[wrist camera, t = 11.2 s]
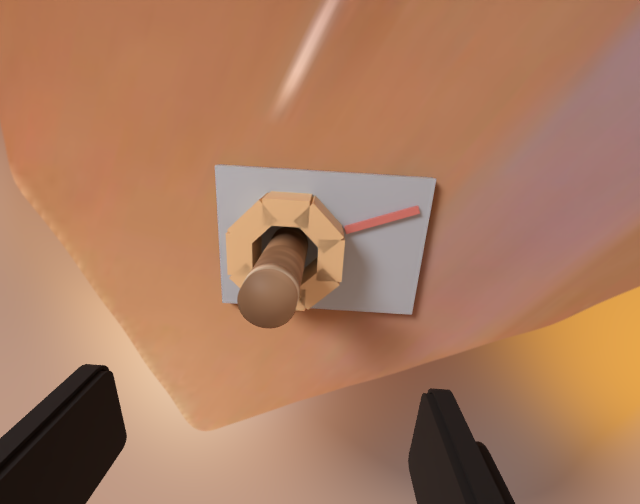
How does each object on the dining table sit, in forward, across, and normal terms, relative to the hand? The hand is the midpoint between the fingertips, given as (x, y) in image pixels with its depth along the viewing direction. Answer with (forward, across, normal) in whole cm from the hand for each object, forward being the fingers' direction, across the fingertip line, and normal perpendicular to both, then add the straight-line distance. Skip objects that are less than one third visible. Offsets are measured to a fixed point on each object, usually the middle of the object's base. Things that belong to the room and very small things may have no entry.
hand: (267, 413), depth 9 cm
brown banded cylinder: (+21, +2, +2) cm, 21 cm away
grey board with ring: (+23, -1, +2) cm, 23 cm away
